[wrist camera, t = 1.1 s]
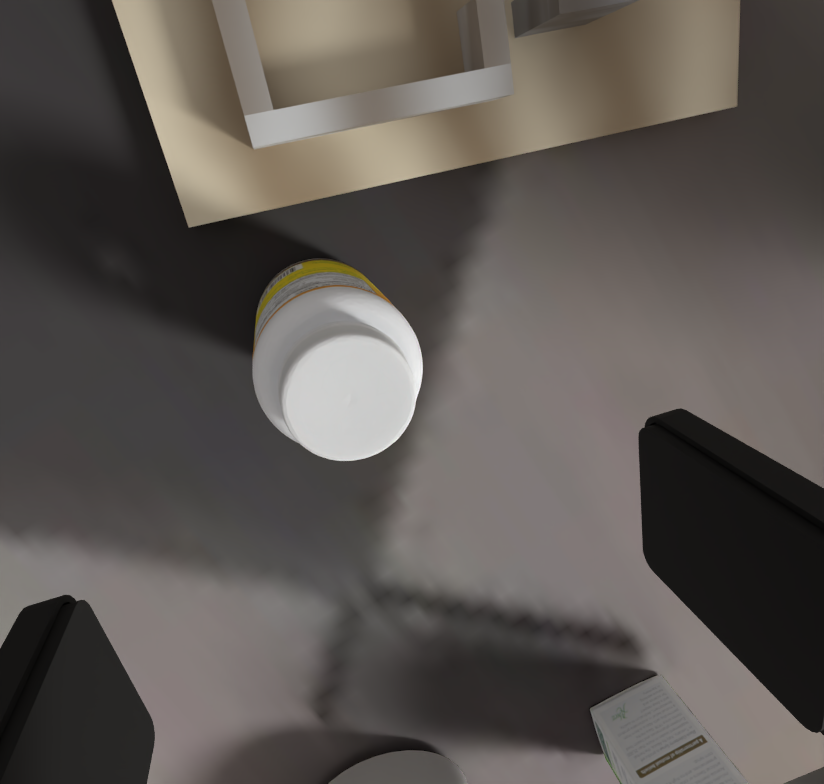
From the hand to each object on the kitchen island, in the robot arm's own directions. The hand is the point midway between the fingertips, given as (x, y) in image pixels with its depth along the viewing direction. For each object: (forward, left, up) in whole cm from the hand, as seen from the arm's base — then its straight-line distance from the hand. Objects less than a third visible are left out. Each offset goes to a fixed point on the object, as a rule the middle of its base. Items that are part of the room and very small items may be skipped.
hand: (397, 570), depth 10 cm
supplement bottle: (0, 0, -18) cm, 18 cm away
